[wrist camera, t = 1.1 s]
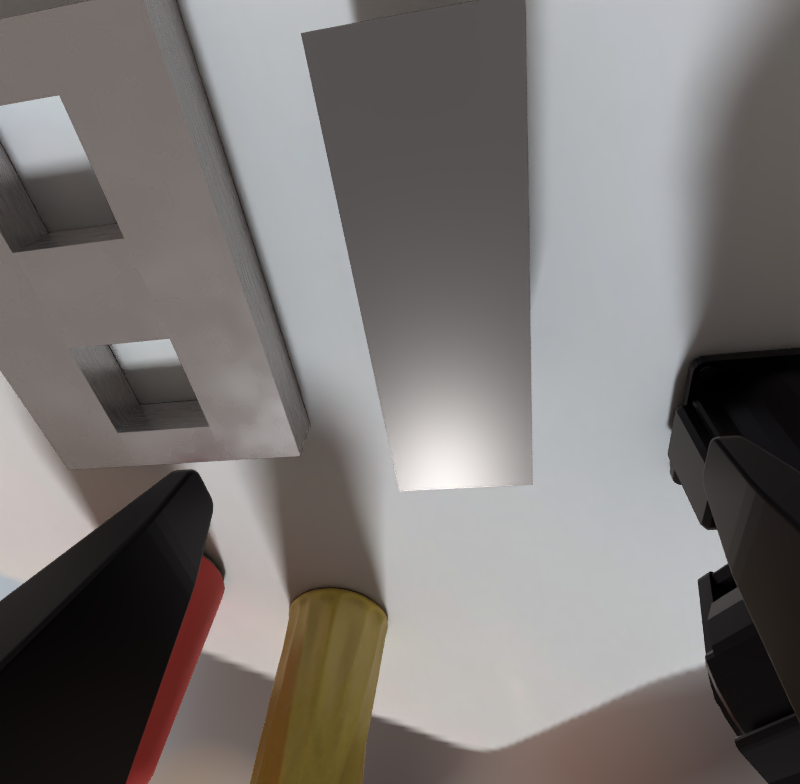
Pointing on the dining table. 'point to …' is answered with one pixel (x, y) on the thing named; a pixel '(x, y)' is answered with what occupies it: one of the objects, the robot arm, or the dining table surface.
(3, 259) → the mount plate
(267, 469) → the dining table surface
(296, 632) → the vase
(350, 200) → the grey rectangular block
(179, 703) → the beer can
